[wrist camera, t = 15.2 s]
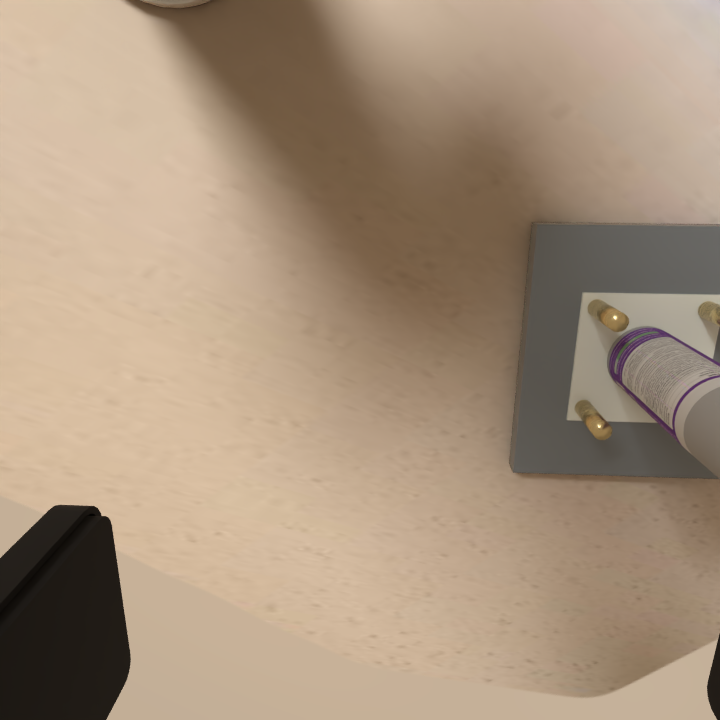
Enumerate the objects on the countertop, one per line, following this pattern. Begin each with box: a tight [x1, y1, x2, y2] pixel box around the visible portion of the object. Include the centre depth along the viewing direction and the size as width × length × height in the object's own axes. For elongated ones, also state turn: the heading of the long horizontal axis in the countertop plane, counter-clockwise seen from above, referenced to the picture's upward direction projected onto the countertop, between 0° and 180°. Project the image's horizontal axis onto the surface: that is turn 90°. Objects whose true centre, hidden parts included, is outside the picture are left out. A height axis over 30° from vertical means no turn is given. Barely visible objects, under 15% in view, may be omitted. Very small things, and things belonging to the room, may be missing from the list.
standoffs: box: [575, 299, 720, 440], centre depth 38 cm, size 8×8×4 cm
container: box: [607, 326, 720, 479], centre depth 33 cm, size 5×5×15 cm
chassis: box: [509, 222, 720, 479], centre depth 41 cm, size 18×16×2 cm
